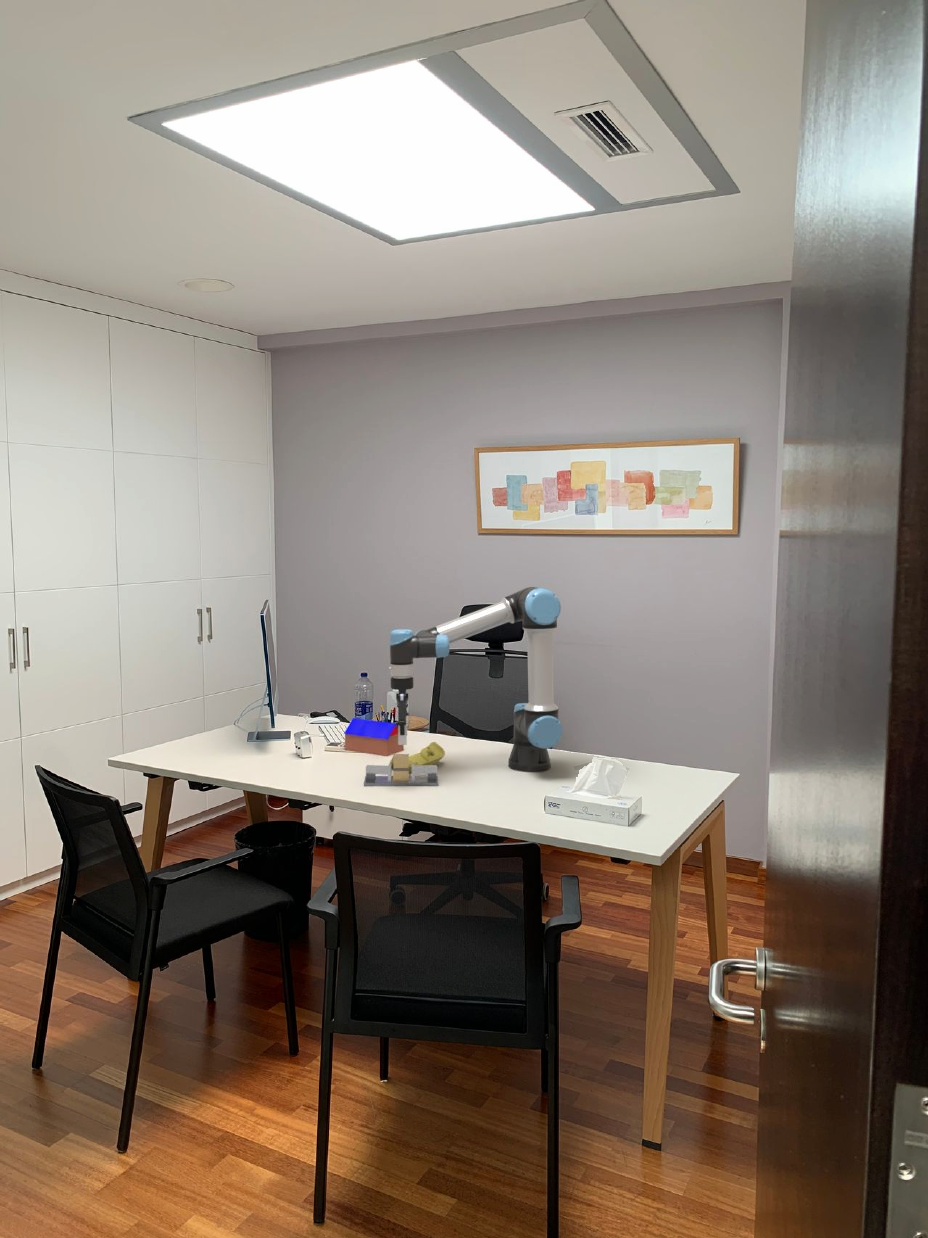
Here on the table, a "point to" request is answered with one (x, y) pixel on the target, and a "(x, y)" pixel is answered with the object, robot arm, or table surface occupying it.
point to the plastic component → (426, 756)
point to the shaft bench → (413, 781)
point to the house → (372, 737)
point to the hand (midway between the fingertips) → (402, 740)
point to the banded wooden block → (401, 767)
